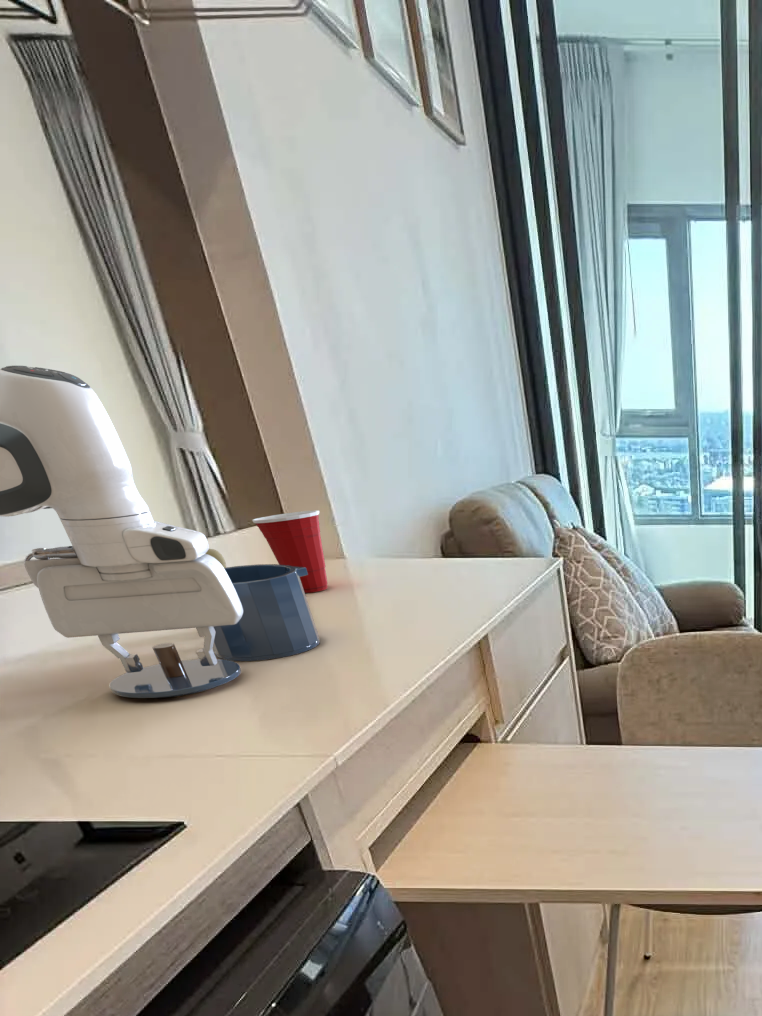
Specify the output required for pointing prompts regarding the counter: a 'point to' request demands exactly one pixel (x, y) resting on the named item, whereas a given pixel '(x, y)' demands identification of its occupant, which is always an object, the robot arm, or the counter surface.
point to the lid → (173, 676)
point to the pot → (267, 615)
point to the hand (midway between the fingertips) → (173, 668)
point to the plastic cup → (297, 545)
